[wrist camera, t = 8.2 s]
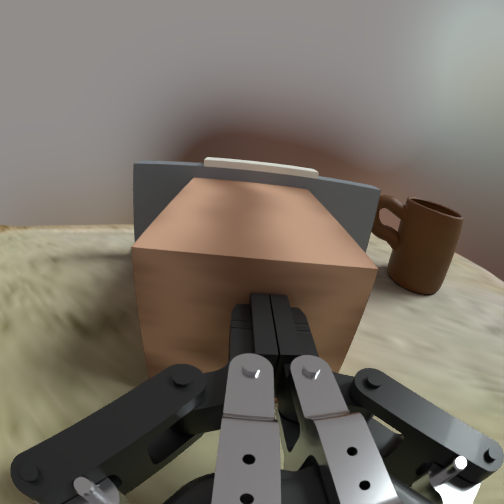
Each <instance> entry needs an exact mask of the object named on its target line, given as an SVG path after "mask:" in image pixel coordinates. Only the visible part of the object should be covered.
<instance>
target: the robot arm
mask: <svg viewBox="0 0 504 504" xmlns="http://www.w3.org/2000/svg"><path fill="white" fill-rule="evenodd" d="M274 398H277V402H278V406H277V409H276V413H275V412H274ZM275 415H276V420H275ZM374 415H375V416H377V417H378V418H380V419H381V420H383V421H384V422H386V423H387V424H389V425H390V426H392V427H393V428H395V429H396V430H398V431H399V432H401V433H402V434H396V433H394V432H393V431H391V430H390V429H388V428H387V427H385V426H384V425H382V424H381V423H379V422H378V421H376V420H375V419H373V418H372V417H373V416H374ZM219 429H221V430H220V438H219V445H218V453H217V462H216V470H215V473H211V474H207V475H204V476H201V477H199V478H196V479H194V480H192V481H190V482H189V483H187V484H186V485H184V486H183V487H181V488H180V489H179V490H178V491H177V492H176V493H174V494H173V495H172V496H171V497H170V498H169V499H167V500H166V501H165V502H164V503H163V504H472V502H473V500H474V498H475V495H476V493H477V491H478V488H479V486H480V483H481V482H482V481H483V480H485V479H486V478H487V477H489V476H490V475H491V474H493V473H494V472H495V471H497V470H498V469H499V468H500V467H501V466H502V464H503V460H504V453H503V450H502V448H501V446H500V445H499V444H498V443H497V442H496V441H494V440H493V439H491V438H489V437H487V436H486V435H484V434H482V433H480V432H479V431H477V430H475V429H474V428H472V427H470V426H469V425H467V424H465V423H463V422H462V421H460V420H458V419H457V418H455V417H453V416H452V415H450V414H448V413H447V412H445V411H444V410H442V409H440V408H439V407H437V406H435V405H434V404H432V403H431V402H429V401H427V400H426V399H424V398H422V397H421V396H419V395H418V394H416V393H414V392H413V391H411V390H410V389H408V388H406V387H405V386H403V385H402V384H400V383H399V382H397V381H395V380H394V379H392V378H391V377H389V376H388V375H386V374H384V373H383V372H381V371H379V370H377V369H372V368H365V369H362V370H360V371H359V372H357V374H356V375H355V377H353V376H348V375H343V374H339V373H335V372H333V371H332V370H331V368H330V366H329V365H328V363H327V362H325V361H324V360H323V359H321V358H319V355H318V352H317V349H316V346H315V343H314V339H313V336H312V333H311V330H310V327H309V325H308V321H307V317H306V315H305V314H304V313H303V312H302V311H301V310H300V309H299V307H290V304H289V300H288V296H287V295H281V294H269V295H268V294H265V293H252V292H251V293H250V297H249V304H236V306H235V307H234V308H233V310H232V312H231V322H230V333H229V352H228V363H227V364H226V365H225V366H224V367H223V368H221V369H219V370H216V371H213V372H207V373H202V371H201V370H199V369H198V368H196V367H194V366H192V365H189V364H175V365H172V366H169V367H167V368H166V369H164V370H163V371H161V372H160V373H158V374H157V375H155V376H153V377H152V378H150V379H149V380H147V381H146V382H144V383H142V384H141V385H139V386H138V387H136V388H134V389H133V390H131V391H130V392H128V393H126V394H125V395H123V396H121V397H120V398H118V399H117V400H115V401H113V402H112V403H110V404H108V405H107V406H105V407H103V408H102V409H100V410H98V411H97V412H95V413H93V414H91V415H90V416H88V417H86V418H85V419H83V420H81V421H79V422H78V423H76V424H74V425H72V426H71V427H69V428H67V429H65V430H63V431H62V432H60V433H58V434H56V435H54V436H52V437H51V438H49V439H47V440H45V441H43V442H41V443H39V444H38V445H36V446H34V447H32V448H30V449H28V450H26V451H24V452H22V453H20V454H19V455H17V456H16V457H15V458H14V460H13V462H12V464H11V477H12V480H13V482H14V484H15V486H16V487H17V488H18V489H19V490H20V491H21V492H22V493H23V494H25V495H26V496H28V497H30V498H31V499H33V500H34V501H35V502H36V503H38V504H129V503H128V500H127V498H126V497H125V494H127V493H128V492H130V491H131V490H133V489H134V488H136V487H137V486H138V485H140V484H141V483H143V482H144V481H145V480H147V479H148V478H150V477H151V476H152V475H154V474H155V473H156V472H158V471H159V470H160V469H162V468H163V467H164V466H166V465H167V464H168V463H169V462H171V461H172V460H173V459H174V458H176V457H177V456H178V455H180V454H181V453H182V452H183V451H184V450H186V449H187V448H188V447H189V446H191V445H192V444H193V443H194V442H195V441H197V440H198V439H199V438H200V437H201V436H202V435H203V434H204V433H205V432H210V431H214V430H219ZM280 439H281V443H282V448H283V452H284V470H282V469H280ZM404 483H405V484H404ZM407 485H408V486H407ZM410 487H411V488H410Z"/></svg>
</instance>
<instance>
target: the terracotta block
mask: <svg viewBox="0 0 504 504" xmlns="http://www.w3.org/2000/svg"><path fill="white" fill-rule="evenodd" d="M131 248H132V262H133V273H134V283H135V292H136V300H137V308H138V316H139V323H140V329H141V335H142V341H143V347H144V353H145V358H146V363H147V368H148V373H149V378H152V377H153V376H155V375H157V374H158V373H160V372H161V371H163V370H164V369H166V368H167V367H169V366H172V365H175V364H189V365H192V366H194V367H196V368H198V369H199V370H201V371H202V373H207V372H213V371H216V370H219V369H221V368H223V367H224V366H225V365H226V364H227V363H228V352H229V333H230V322H231V312H232V310H233V308H234V307H235V306H236V304H249V297H250V293H251V292H252V293H265V294H268V295H269V294H281V295H287V296H288V300H289V304H290V307H299V309H300V310H301V311H302V312H303V313H304V314H305V315H306V317H307V321H308V325H309V327H310V330H311V333H312V336H313V339H314V343H315V346H316V349H317V352H318V355H319V358H321V359H323V360H324V361H325V362H327V363H328V365H329V366H330V368H331V370H332V371H333V372H335V373H338V372H339V370H340V368H341V366H342V363H343V361H344V359H345V357H346V354H347V352H348V350H349V347H350V345H351V343H352V340H353V338H354V335H355V333H356V330H357V328H358V325H359V323H360V320H361V318H362V315H363V312H364V310H365V307H366V304H367V301H368V299H369V296H370V293H371V290H372V287H373V284H374V281H375V278H376V275H377V272H378V268H377V266H376V265H375V264H374V263H373V262H372V260H371V259H370V258H369V257H368V256H367V254H366V253H365V252H364V251H363V250H362V249H361V247H360V246H359V245H358V244H357V243H356V242H355V240H354V239H353V238H352V237H351V236H350V235H349V234H348V233H347V231H346V230H345V229H344V228H343V227H342V226H341V225H340V224H339V222H338V221H337V220H336V219H335V218H334V217H333V216H332V215H331V214H330V213H329V212H328V210H327V209H326V208H325V207H324V206H323V205H322V204H321V203H320V202H319V201H318V200H317V199H316V198H315V197H314V196H313V195H312V193H311V192H310V191H309V190H308V189H303V188H296V187H288V186H280V185H271V184H263V183H253V182H243V181H233V180H221V179H209V178H195V177H194V178H193V179H192V180H191V181H190V182H189V183H188V184H187V185H186V186H185V187H184V188H183V189H182V190H181V192H180V193H179V194H178V195H177V196H176V197H175V198H174V199H173V200H172V201H171V202H170V203H169V204H168V206H167V207H166V208H165V209H164V210H163V211H162V212H161V213H160V214H159V215H158V217H157V218H156V219H155V220H154V221H153V222H152V223H151V225H150V226H149V227H148V228H147V229H146V230H145V231H144V233H143V234H142V235H141V236H140V237H139V238H138V240H137V241H136V242H135V243H134V244H133V246H132V247H131ZM274 403H278V402H277V398H274Z"/></svg>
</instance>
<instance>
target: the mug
mask: <svg viewBox="0 0 504 504" xmlns="http://www.w3.org/2000/svg"><path fill="white" fill-rule="evenodd" d="M382 208H386V209H388V210H389V211H391V212H392V213H393V214H395V215H396V216H397V217H398V218H400V219H401V221H400V225H399V228H398V232H397V231H396V230H395V229H393V228H392V227H389V226H386V225H384V224H382V223H381V221H380V219H379V210H380V209H382ZM462 224H463V217H462V216H461V215H460V214H459V213H457V212H455V211H453V210H451V209H449V208H447V207H444V206H442V205H439V204H437V203H434V202H431V201H428V200H424V199H420V198H415V197H408V198H407V201H406V205H403V204H402V203H401V202H400V201H398V200H397V199H396V198H394V197H393V196H388V195H387V196H386V195H382V196H380V197H379V201H378V206H377V210H376V214H375V218H374V223H373V227H372V230H371V232H372V233H373V234H374V235H375V236H377V237H378V238H380V239H382V240H385V241H387V243H388V244H389V245H390V246H391V248H392V249H393V250H392V253H391V256H390V260H389V263H388V273H389V275H390V277H391V278H392V279H393V280H394V281H395V282H396V283H398V284H399V285H401V286H402V287H404V288H406V289H408V290H410V291H413V292H416V293H421V294H432V293H435V292H437V291H438V290H439V289H440V287H441V285H442V283H443V281H444V278H445V276H446V273H447V271H448V268H449V266H450V263H451V260H452V258H453V255H454V252H455V249H456V246H457V243H458V240H459V237H460V233H461V228H462Z"/></svg>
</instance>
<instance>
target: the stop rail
mask: <svg viewBox="0 0 504 504" xmlns="http://www.w3.org/2000/svg"><path fill="white" fill-rule="evenodd" d="M133 174H134V175H133V197H134V198H133V205H134V235H135V242H136V241H137V240H138V238H139V237H140V236H141V235H142V234H143V233H144V231H145V230H146V229H147V228H148V227H149V226H150V225H151V223H152V222H153V221H154V220H155V219H156V218H157V217H158V215H159V214H160V213H161V212H162V211H163V210H164V209H165V208H166V207H167V206H168V204H169V203H170V202H171V201H172V200H173V199H174V198H175V197H176V196H177V195H178V194H179V193H180V192H181V190H182V189H183V188H184V187H185V186H186V185H187V184H188V183H189V182H190V181H191V180H192V179H193V178H194V177H195V178H209V179H221V180H233V181H243V182H253V183H263V184H271V185H280V186H288V187H296V188H303V189H308V190H309V191H310V192H311V193H312V195H313V196H314V197H315V198H316V199H317V200H318V201H319V202H320V203H321V204H322V205H323V206H324V207H325V208H326V209H327V210H328V212H329V213H330V214H331V215H332V216H333V217H334V218H335V219H336V220H337V221H338V222H339V224H340V225H341V226H342V227H343V228H344V229H345V230H346V231H347V233H348V234H349V235H350V236H351V237H352V238H353V239H354V240H355V242H356V243H357V244H358V245H359V246H360V247H361V249H362V250H363V251H364V252H365V253H366V249H367V246H368V242H369V238H370V234H371V230H372V227H373V223H374V218H375V214H376V210H377V206H378V201H379V197H380V192H381V190H379V189H378V188H376V187H374V186H371V185H366V184H361V183H356V182H350V181H344V180H339V179H333V178H327V177H321V176H318V172H317V171H316V170H314V169H309V168H302V167H296V166H289V165H281V164H273V163H265V162H256V161H246V160H236V159H235V160H234V159H223V158H211V157H207V158H206V159H204V163H190V162H170V161H139V162H136V163H134V172H133Z"/></svg>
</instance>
